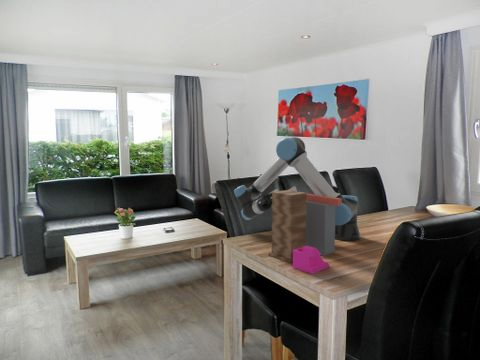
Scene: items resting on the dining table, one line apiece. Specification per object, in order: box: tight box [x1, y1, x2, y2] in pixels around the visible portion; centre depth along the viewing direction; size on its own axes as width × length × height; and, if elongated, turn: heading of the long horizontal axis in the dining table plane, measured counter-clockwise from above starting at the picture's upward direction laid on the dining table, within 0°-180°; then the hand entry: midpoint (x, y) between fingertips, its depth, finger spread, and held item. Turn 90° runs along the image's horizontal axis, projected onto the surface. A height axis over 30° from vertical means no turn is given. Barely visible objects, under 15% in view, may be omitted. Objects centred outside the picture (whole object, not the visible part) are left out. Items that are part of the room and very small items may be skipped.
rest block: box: [306, 201, 336, 256], centre depth 188 cm, size 12×8×24 cm, turn 41°
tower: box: [268, 189, 308, 264], centre depth 180 cm, size 14×12×30 cm
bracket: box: [292, 246, 330, 274], centre depth 167 cm, size 12×10×10 cm
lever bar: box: [306, 193, 342, 206], centre depth 188 cm, size 26×3×3 cm, turn 41°
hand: (287, 189), depth 202 cm, fingers open, 13 cm apart
